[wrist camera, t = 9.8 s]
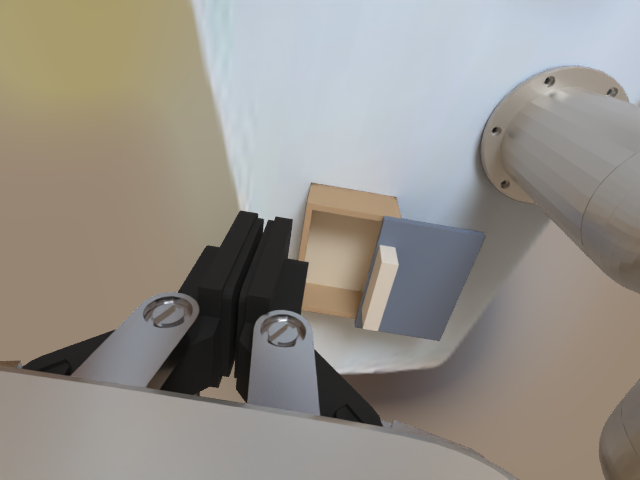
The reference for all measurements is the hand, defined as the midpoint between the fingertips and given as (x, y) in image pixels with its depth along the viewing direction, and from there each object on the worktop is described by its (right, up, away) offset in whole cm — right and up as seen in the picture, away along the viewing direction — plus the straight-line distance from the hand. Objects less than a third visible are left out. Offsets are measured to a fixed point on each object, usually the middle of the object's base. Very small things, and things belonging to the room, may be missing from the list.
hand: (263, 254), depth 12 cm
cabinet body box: (+4, 0, +31) cm, 31 cm away
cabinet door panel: (+11, -4, +27) cm, 29 cm away
